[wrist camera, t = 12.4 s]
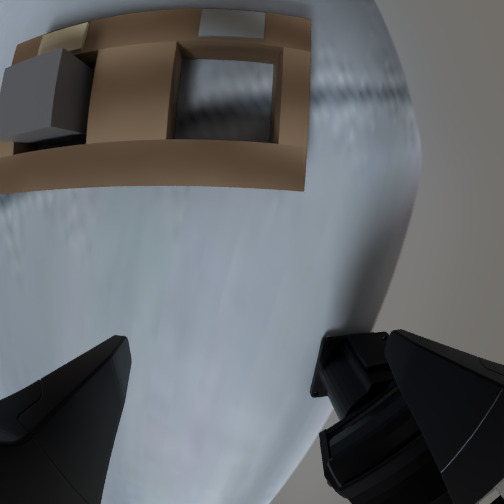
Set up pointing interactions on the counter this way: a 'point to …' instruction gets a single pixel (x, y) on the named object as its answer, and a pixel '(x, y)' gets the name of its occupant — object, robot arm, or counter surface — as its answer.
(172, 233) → the counter surface
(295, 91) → the socket bar
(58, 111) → the plug
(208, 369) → the counter surface
